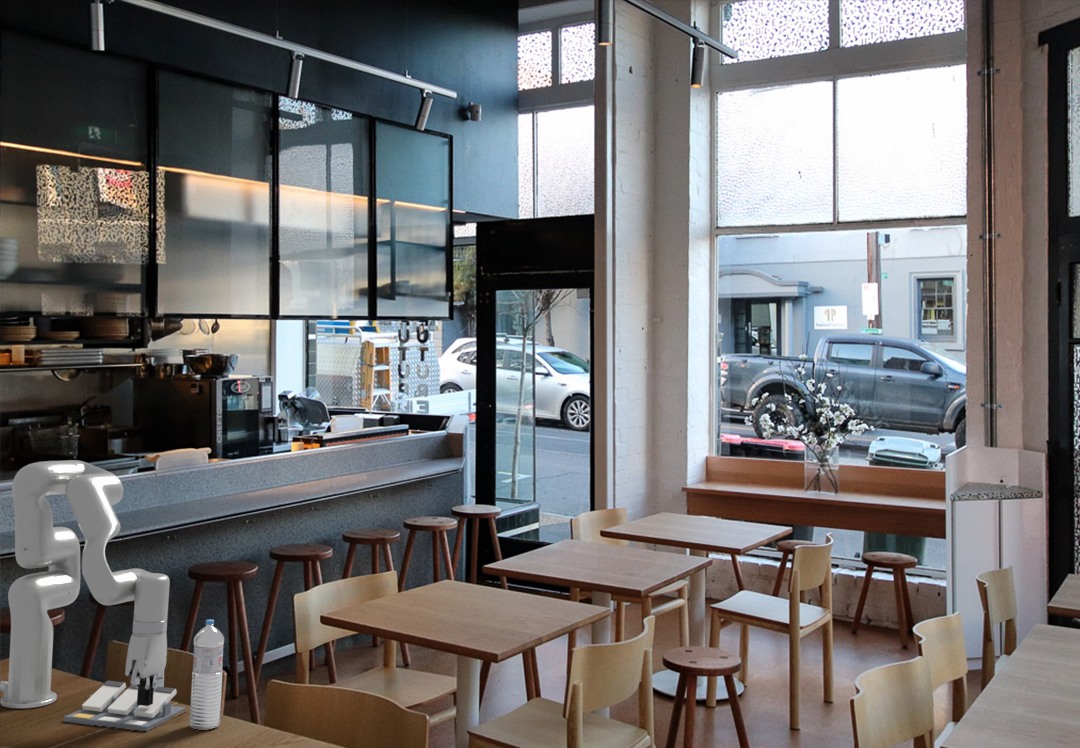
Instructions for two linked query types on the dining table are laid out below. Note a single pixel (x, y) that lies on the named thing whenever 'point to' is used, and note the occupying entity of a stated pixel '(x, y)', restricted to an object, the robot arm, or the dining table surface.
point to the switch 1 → (104, 696)
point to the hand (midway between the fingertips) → (144, 704)
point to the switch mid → (125, 701)
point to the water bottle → (207, 678)
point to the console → (123, 717)
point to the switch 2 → (156, 702)
